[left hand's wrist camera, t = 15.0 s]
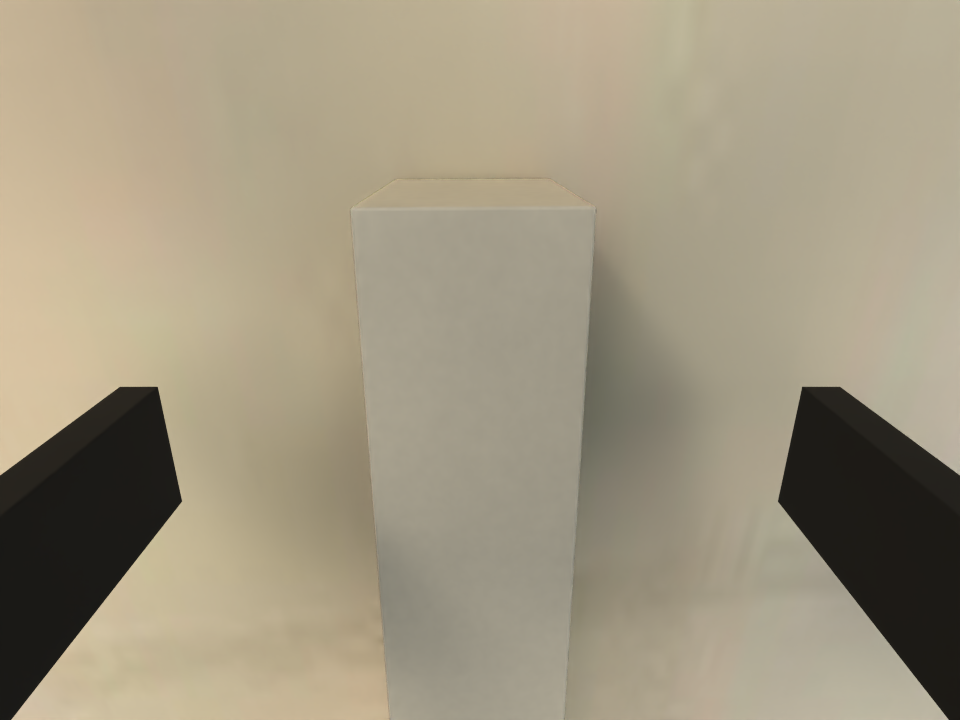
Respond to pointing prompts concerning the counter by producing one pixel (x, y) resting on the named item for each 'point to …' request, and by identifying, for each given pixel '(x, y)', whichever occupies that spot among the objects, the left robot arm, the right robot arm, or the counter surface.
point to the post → (474, 436)
